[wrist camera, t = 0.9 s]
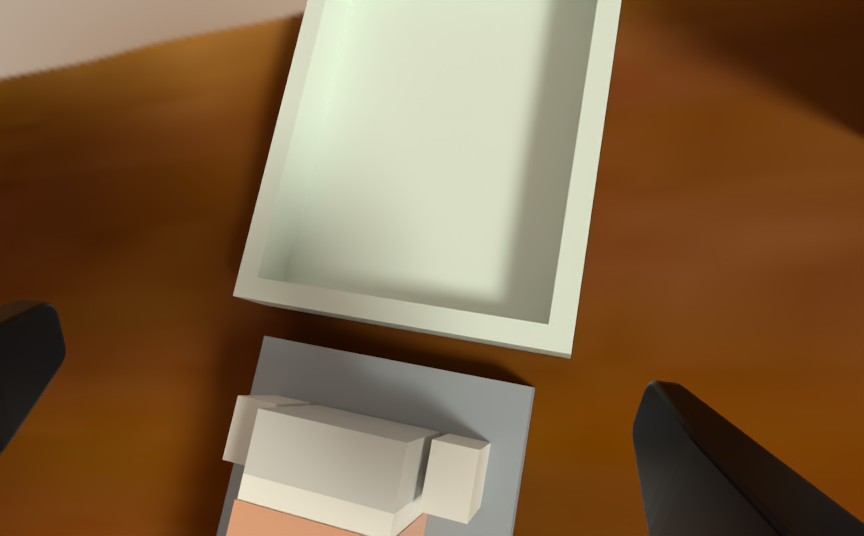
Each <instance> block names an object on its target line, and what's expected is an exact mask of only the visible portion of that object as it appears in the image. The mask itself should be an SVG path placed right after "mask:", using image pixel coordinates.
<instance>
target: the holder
mask: <svg viewBox="0 0 864 536" xmlns="http://www.w3.org/2000/svg"><path fill="white" fill-rule="evenodd" d="M534 392H535V387H529V386H524V385H519V384H514V383H508V382H503V381H498V380H493V379H488V378H482V377H477V376H472V375H467V374H461V373H456V372H451V371H446V370H441V369H435V368H430V367H425V366H420V365H414V364H409V363H404V362H399V361H394V360H388V359H383V358H378V357H373V356H367V355H362V354H357V353H352V352H347V351H341V350H336V349H331V348H326V347H320V346H315V345H310V344H305V343H300V342H294V341H289V340H284V339H279V338H273V337H268V336H264V339H263V343H262V347H261V352H260V356H259V360H258V364H257V368H256V372H255V377H254V381H253V385H252V389H251V393H250V395H238V398H237V402H236V406H235V410H234V414H233V418H232V422H231V426H230V430H229V434H228V439H227V443H226V447H225V451H224V455H223V459H222V460H226V461H230V462H233V463H234V464H233V468H232V472H231V477H230V481H229V485H228V489H227V493H226V497H225V502H224V506H223V510H222V514H221V518H220V522H219V527H218V531H217V535H216V536H226V534H227V530H228V525H229V521H230V517H231V513H232V508H233V504H234V500H235V499H237V498H238V494H239V489H240V485H241V481H242V476H243V472H244V468H245V464H246V459H247V455H248V451H249V446H250V442H251V438H252V433H253V429H254V425H255V421H256V416H257V412H258V408H272V407H288V406H304V405H322V406H327V407H331V408H336V409H340V410H345V411H349V412H354V413H358V414H363V415H367V416H372V417H376V418H381V419H385V420H390V421H394V422H399V423H403V424H408V425H412V426H417V427H421V428H426V429H430V430H435V431H439V432H440V436H439V437H438V438H435V439H432V443H431V449H430V454H429V460H428V465H427V471H426V476H425V482H424V488H423V493H422V499H421V504H420V510H419V512H423V513H427V520H426V525H425V531H424V536H513V530H514V523H515V517H516V510H517V504H518V497H519V490H520V484H521V477H522V471H523V464H524V458H525V451H526V444H527V438H528V431H529V425H530V418H531V412H532V405H533V398H534Z"/></svg>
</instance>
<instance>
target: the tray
mask: <svg viewBox="0 0 864 536" xmlns="http://www.w3.org/2000/svg"><path fill="white" fill-rule="evenodd" d="M621 1H622V0H308V1H307V5H306V9H305V12H304V16H303V20H302V24H301V28H300V32H299V36H298V40H297V44H296V48H295V52H294V56H293V60H292V64H291V68H290V72H289V76H288V80H287V84H286V88H285V91H284V95H283V99H282V103H281V107H280V111H279V115H278V119H277V123H276V127H275V131H274V135H273V139H272V143H271V147H270V151H269V155H268V159H267V163H266V167H265V171H264V174H263V178H262V182H261V186H260V190H259V194H258V198H257V202H256V206H255V210H254V214H253V218H252V222H251V226H250V230H249V234H248V238H247V242H246V246H245V250H244V253H243V257H242V261H241V265H240V269H239V273H238V277H237V281H236V285H235V289H234V293H233V296H235V297H239V298H242V299H246V300H249V301H252V302H256V303H259V304H263V305H266V306H271V307H276V308H282V309H288V310H293V311H299V312H305V313H311V314H316V315H322V316H328V317H333V318H339V319H345V320H351V321H356V322H362V323H368V324H373V325H379V326H385V327H390V328H396V329H402V330H408V331H413V332H419V333H425V334H430V335H436V336H442V337H448V338H453V339H459V340H465V341H470V342H476V343H482V344H488V345H493V346H499V347H505V348H510V349H516V350H522V351H527V352H533V353H539V354H545V355H550V356H556V357H562V358H567V359H570V358H571V351H572V344H573V337H574V330H575V323H576V316H577V309H578V302H579V295H580V288H581V281H582V274H583V267H584V260H585V253H586V246H587V239H588V232H589V225H590V218H591V211H592V204H593V197H594V190H595V183H596V176H597V169H598V162H599V155H600V148H601V141H602V134H603V127H604V120H605V113H606V106H607V99H608V92H609V85H610V78H611V71H612V64H613V57H614V50H615V43H616V36H617V29H618V22H619V15H620V8H621Z"/></svg>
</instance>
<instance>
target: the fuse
mask: <svg viewBox="0 0 864 536" xmlns="http://www.w3.org/2000/svg"><path fill="white" fill-rule="evenodd" d="M439 436H440V432H439V431H435V430H430V429H426V428H421V427H417V426H412V425H408V424H403V423H399V422H394V421H390V420H385V419H381V418H376V417H372V416H367V415H363V414H358V413H354V412H349V411H345V410H340V409H336V408H331V407H327V406H322V405H304V406H288V407H272V408H258V412H257V416H256V421H255V425H254V429H253V433H252V438H251V442H250V446H249V451H248V455H247V459H246V464H245V468H244V472H243V476H242V481H241V485H240V489H239V494H238V498H237V499H235V500H234V504H233V508H232V513H231V517H230V521H229V525H228V530H227V534H226V536H424V531H425V525H426V520H427V513H423V512H419V510H420V504H421V499H422V493H423V488H424V482H425V476H426V471H427V465H428V460H429V454H430V449H431V443H432V439H435V438H438V437H439Z"/></svg>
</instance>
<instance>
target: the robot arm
mask: <svg viewBox="0 0 864 536" xmlns="http://www.w3.org/2000/svg"><path fill="white" fill-rule="evenodd" d="M65 350H66V348H65V343H64V338H63V334H62V329H61V325H60V320H59V316H58V312H57V309H56V308H55V307H54V305H52V304H51V303H49V302H42V301H35V300H27V299H24V300H17V301H14V302H10V303H7V304H3V305H0V455H1V454H2V452H3V451H4V450H5V448H6V447H7V446H8V444H9V443H10V441H11V440H12V438H13V437H14V436H15V434H16V433H17V431H18V430H19V428H20V427H21V425H22V424H23V422H24V421H25V419H26V418H27V416H28V415H29V413H30V412H31V410H32V409H33V407H34V406H35V404H36V403H37V401H38V400H39V398H40V396H41V395H42V393H43V392H44V390H45V389H46V387H47V386H48V384H49V383H50V381H51V380H52V378H53V377H54V375H55V374H56V372H57V371H58V369H59V368H60V366H61V365H62V363H63V360H64V357H65ZM632 434H633V443H634V449H635V456H636V462H637V468H638V474H639V480H640V486H641V493H642V499H643V505H644V511H645V517H646V523H647V528H648V533H649V536H864V523H862V522H861V521H860V520H858V519H857V518H856V517H854V516H853V515H852V514H850V513H849V512H848V511H847V510H845V509H844V508H843V507H841V506H840V505H839V504H837V503H836V502H835V501H833V500H832V499H831V498H829V497H828V496H827V495H825V494H824V493H823V492H821V491H820V490H819V489H818V488H816V487H815V486H814V485H812V484H811V483H810V482H808V481H807V480H806V479H804V478H803V477H802V476H800V475H799V474H798V473H796V472H795V471H794V470H792V469H791V468H790V467H788V466H787V465H786V464H785V463H783V462H782V461H781V460H779V459H778V458H777V457H775V456H774V455H773V454H771V453H770V452H769V451H767V450H766V449H765V448H763V447H762V446H761V445H759V444H758V443H757V442H755V441H754V440H753V439H752V438H750V437H749V436H748V435H746V434H745V433H744V432H742V431H741V430H740V429H738V428H737V427H736V426H734V425H733V424H732V423H730V422H729V421H728V420H726V419H725V418H724V417H722V416H721V415H720V414H719V413H717V412H716V411H715V410H713V409H712V408H711V407H709V406H708V405H707V404H705V403H704V402H703V401H701V400H700V399H699V398H697V397H696V396H695V395H693V394H692V393H691V392H690V391H688V390H687V389H686V388H684V387H683V386H682V385H680V384H677V383H671V382H663V381H652V382H650V383H649V384H648V385H647V387H646V389H645V392H644V394H643V397H642V400H641V403H640V406H639V409H638V411H637V414H636V417H635V420H634V423H633V431H632Z"/></svg>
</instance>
